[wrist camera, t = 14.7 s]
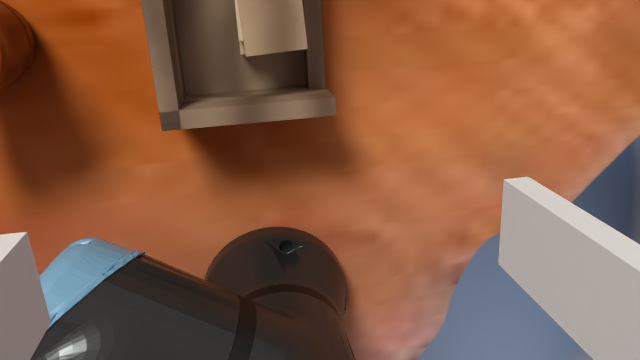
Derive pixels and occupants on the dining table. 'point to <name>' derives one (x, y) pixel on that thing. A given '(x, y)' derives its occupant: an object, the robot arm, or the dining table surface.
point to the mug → (14, 45)
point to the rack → (230, 68)
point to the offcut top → (272, 26)
